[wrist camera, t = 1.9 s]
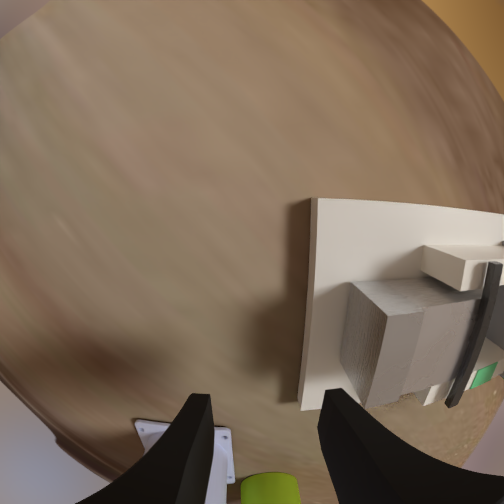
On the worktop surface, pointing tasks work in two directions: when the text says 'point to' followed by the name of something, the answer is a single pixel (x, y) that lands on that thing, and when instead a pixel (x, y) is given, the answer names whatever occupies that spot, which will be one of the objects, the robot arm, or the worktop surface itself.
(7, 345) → the worktop surface
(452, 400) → the grey block with bar
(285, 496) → the soap dispenser
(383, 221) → the architectural block model
